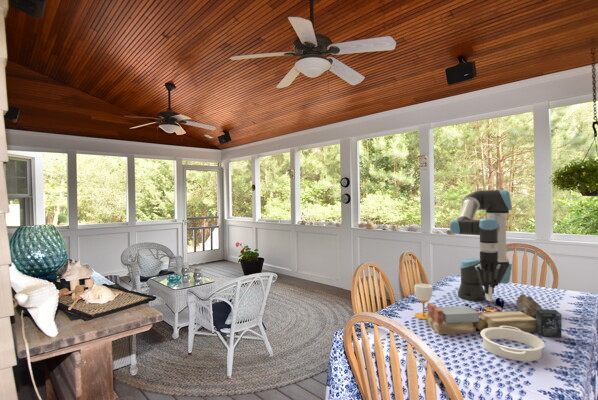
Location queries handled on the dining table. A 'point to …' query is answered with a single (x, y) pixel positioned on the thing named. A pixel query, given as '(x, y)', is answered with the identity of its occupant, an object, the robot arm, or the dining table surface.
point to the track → (492, 318)
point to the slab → (459, 314)
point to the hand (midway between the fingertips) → (489, 300)
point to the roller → (480, 324)
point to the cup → (423, 297)
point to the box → (548, 323)
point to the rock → (527, 305)
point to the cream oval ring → (516, 336)
